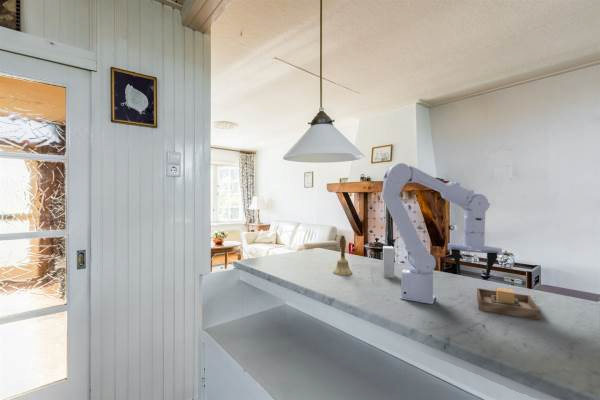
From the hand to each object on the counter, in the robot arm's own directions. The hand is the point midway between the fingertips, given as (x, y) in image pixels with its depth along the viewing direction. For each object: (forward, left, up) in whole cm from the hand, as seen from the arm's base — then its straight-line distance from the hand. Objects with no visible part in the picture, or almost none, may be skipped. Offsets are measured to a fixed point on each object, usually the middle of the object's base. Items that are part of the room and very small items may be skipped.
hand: (472, 275), depth 92 cm
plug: (+8, 0, -8) cm, 12 cm away
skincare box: (-30, +16, -9) cm, 35 cm away
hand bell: (-48, +11, -9) cm, 50 cm away
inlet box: (+8, 0, -8) cm, 12 cm away
